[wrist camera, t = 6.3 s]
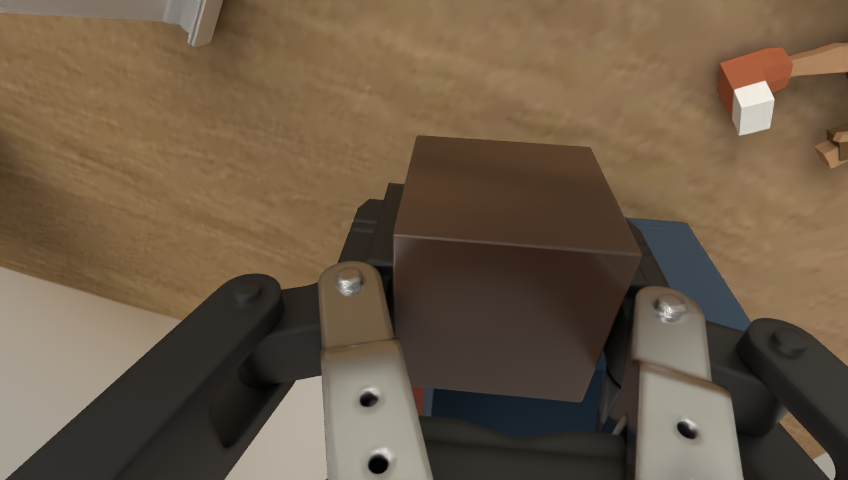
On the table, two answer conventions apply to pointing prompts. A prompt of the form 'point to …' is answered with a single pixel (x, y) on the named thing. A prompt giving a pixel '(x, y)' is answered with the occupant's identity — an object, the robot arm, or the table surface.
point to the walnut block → (507, 267)
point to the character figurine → (768, 73)
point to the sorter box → (538, 416)
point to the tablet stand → (131, 12)
